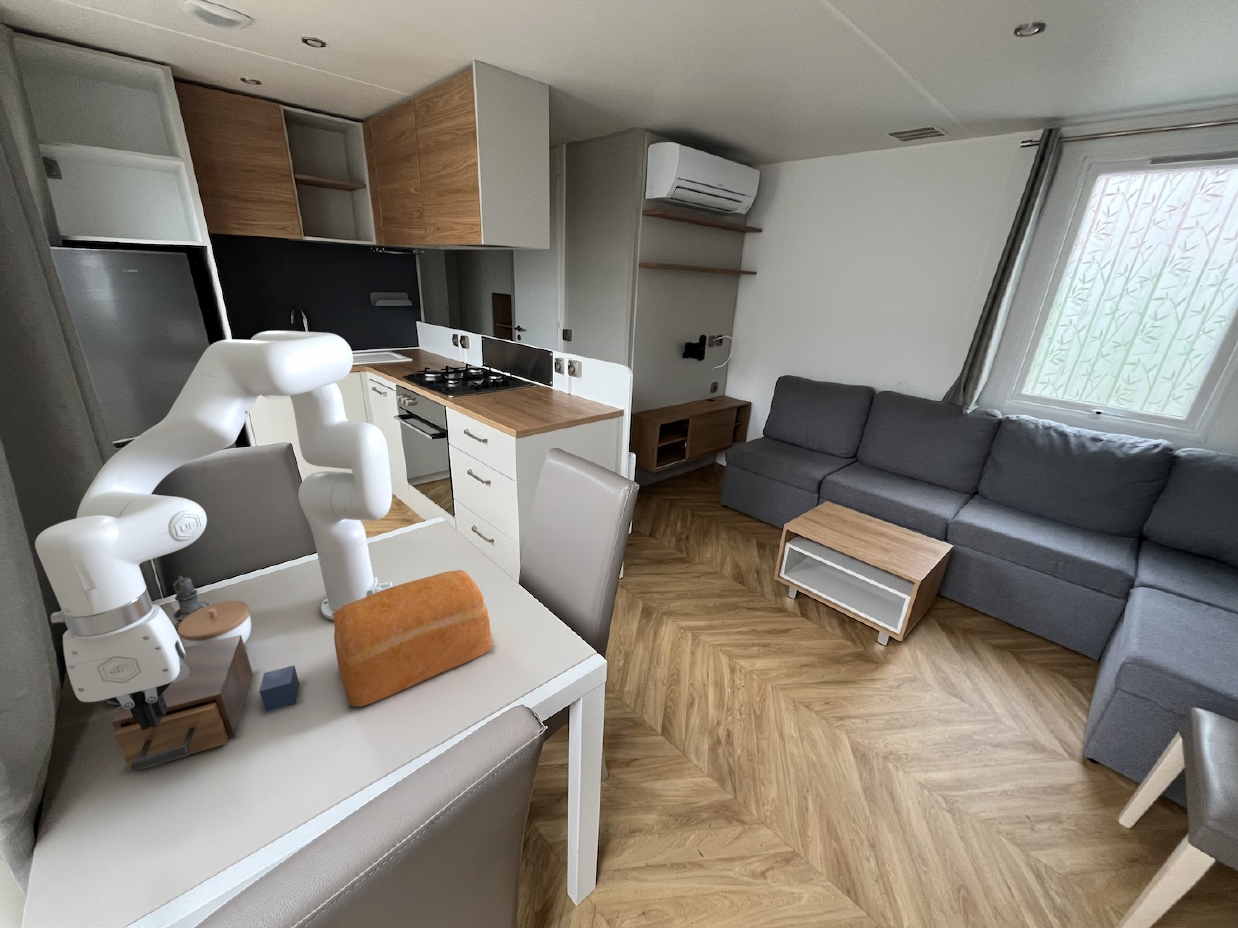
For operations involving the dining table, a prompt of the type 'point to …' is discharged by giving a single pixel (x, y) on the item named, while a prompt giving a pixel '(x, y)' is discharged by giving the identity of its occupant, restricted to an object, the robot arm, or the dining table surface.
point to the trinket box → (216, 623)
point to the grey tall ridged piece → (186, 599)
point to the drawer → (172, 736)
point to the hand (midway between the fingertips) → (153, 720)
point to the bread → (409, 634)
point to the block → (279, 688)
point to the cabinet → (209, 682)
